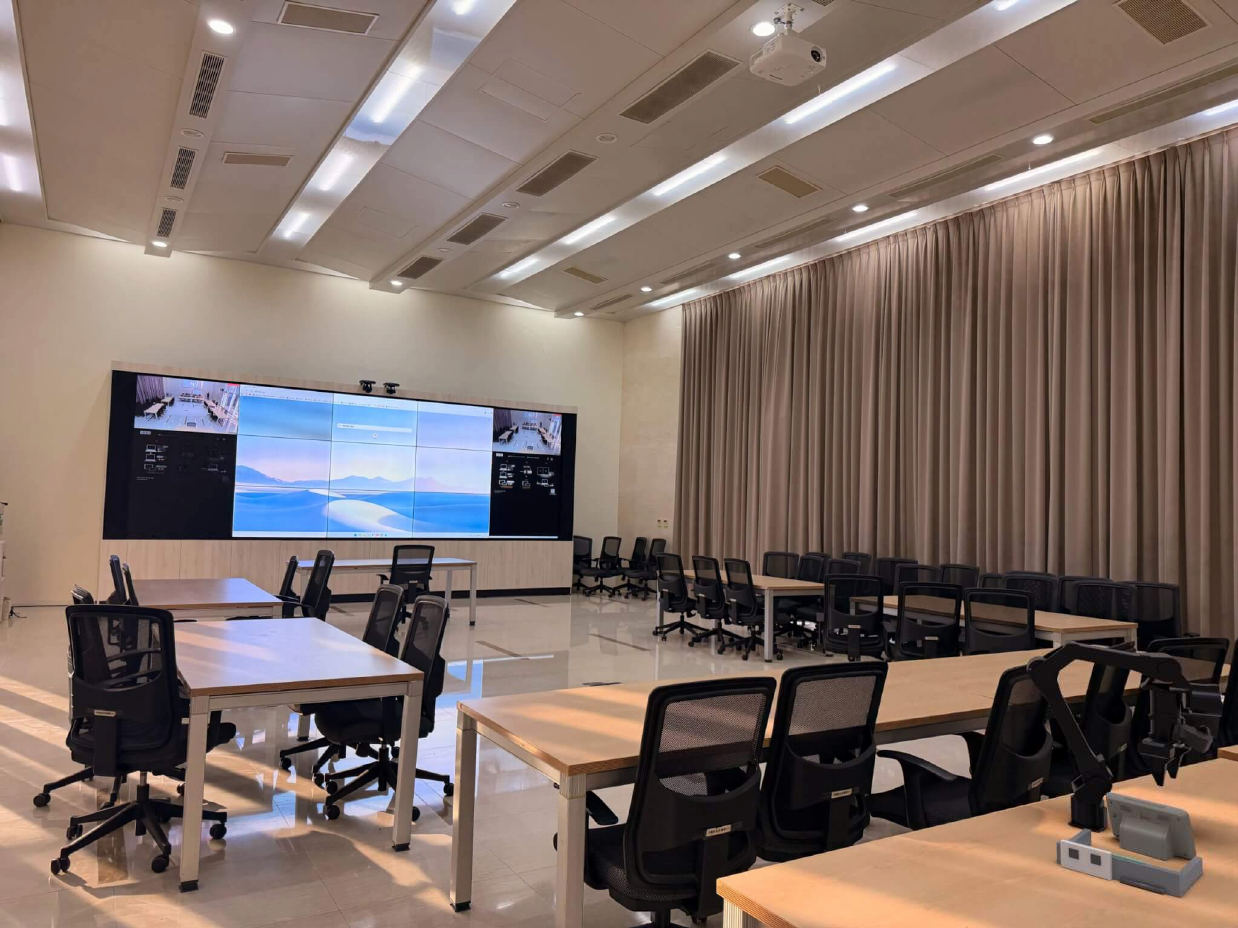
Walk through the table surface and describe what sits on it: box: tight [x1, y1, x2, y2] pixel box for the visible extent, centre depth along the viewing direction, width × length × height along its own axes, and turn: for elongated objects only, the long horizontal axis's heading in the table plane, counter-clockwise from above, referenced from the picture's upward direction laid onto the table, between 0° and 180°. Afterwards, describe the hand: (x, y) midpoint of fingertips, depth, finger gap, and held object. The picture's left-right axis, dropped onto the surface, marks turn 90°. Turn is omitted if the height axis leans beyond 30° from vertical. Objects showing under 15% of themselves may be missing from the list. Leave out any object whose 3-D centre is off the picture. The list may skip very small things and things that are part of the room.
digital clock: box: [1105, 792, 1197, 862], centre depth 178 cm, size 16×9×11 cm, turn 26°
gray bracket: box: [1056, 828, 1204, 898], centre depth 168 cm, size 21×18×5 cm
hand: (1166, 782), depth 187 cm, fingers open, 9 cm apart
